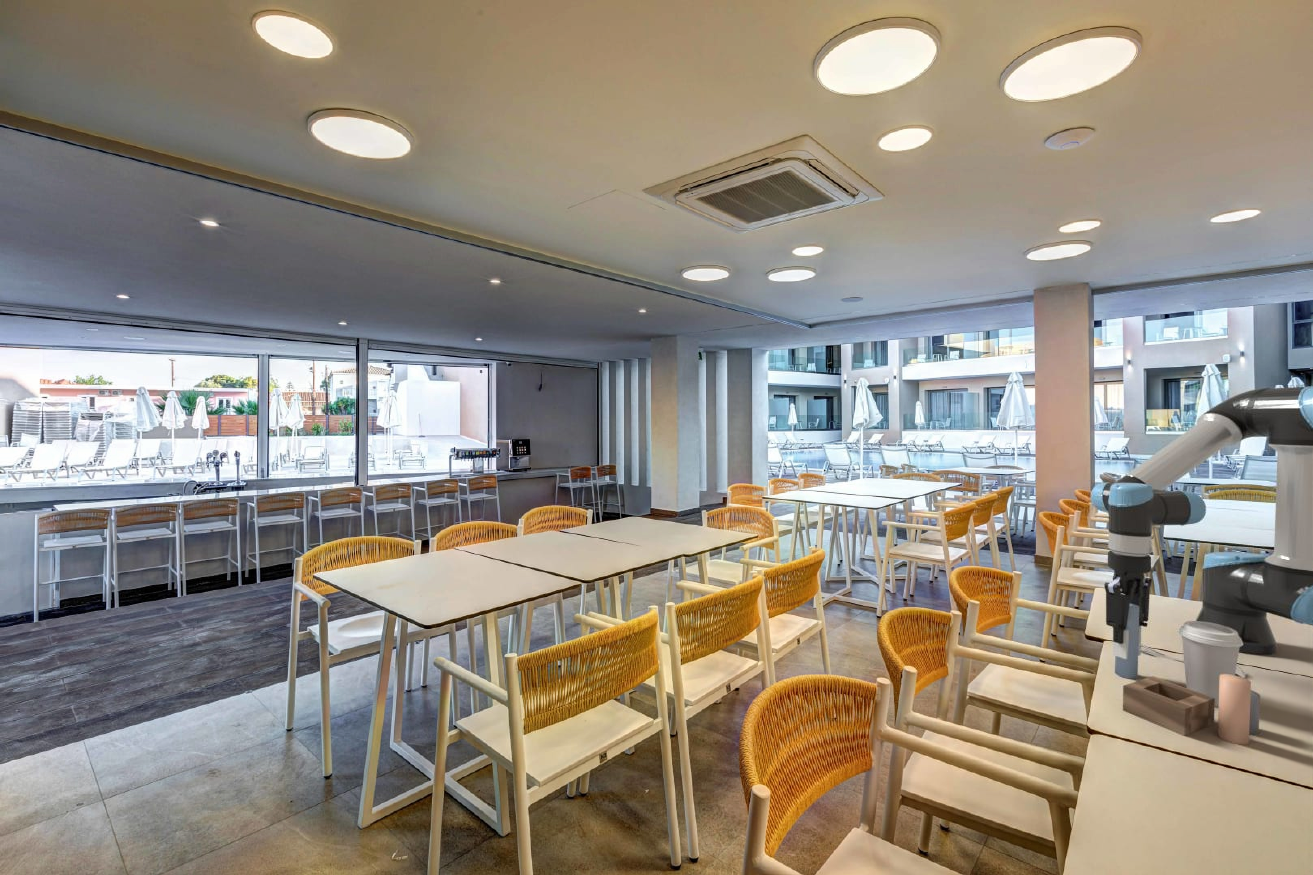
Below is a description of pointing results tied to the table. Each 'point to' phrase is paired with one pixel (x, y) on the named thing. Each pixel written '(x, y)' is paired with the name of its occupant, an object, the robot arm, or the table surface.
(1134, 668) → the tall dowel
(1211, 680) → the coffee cup
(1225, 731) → the medium dowel
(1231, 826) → the table surface
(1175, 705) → the socket block
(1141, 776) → the table surface
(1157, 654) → the silver metal utensil
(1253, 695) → the short dowel
